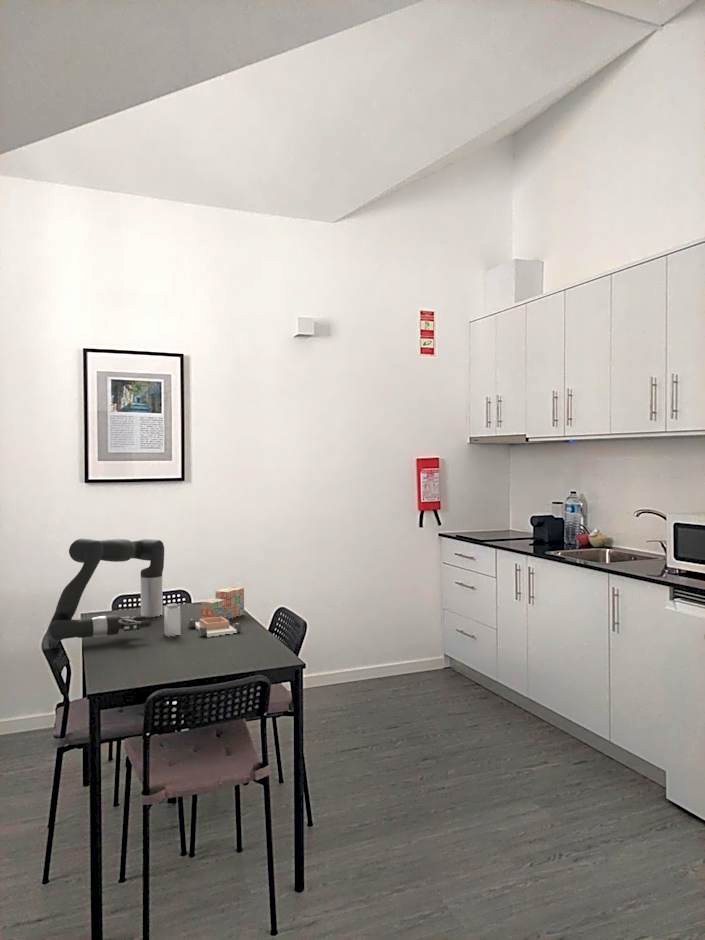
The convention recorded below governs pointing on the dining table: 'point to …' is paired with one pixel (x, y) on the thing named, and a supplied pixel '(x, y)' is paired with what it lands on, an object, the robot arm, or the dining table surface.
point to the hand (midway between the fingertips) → (148, 621)
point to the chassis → (214, 626)
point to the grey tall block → (172, 620)
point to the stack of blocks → (224, 603)
